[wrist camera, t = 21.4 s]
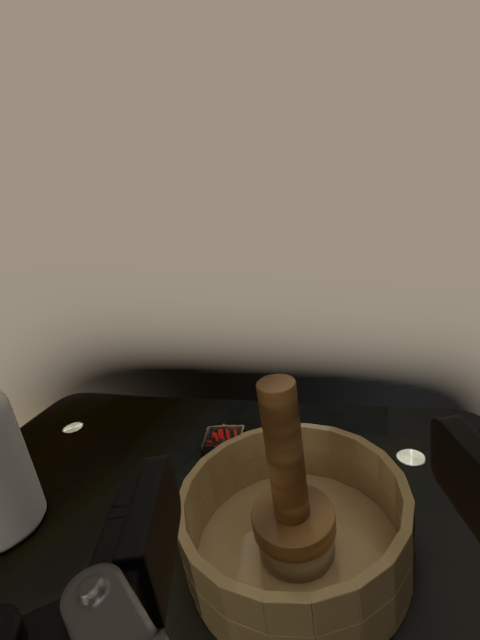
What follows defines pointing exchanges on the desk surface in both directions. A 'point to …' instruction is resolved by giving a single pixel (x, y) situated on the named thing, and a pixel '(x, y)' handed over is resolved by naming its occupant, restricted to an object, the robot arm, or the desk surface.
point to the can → (16, 483)
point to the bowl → (350, 541)
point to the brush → (290, 493)
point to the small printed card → (219, 436)
